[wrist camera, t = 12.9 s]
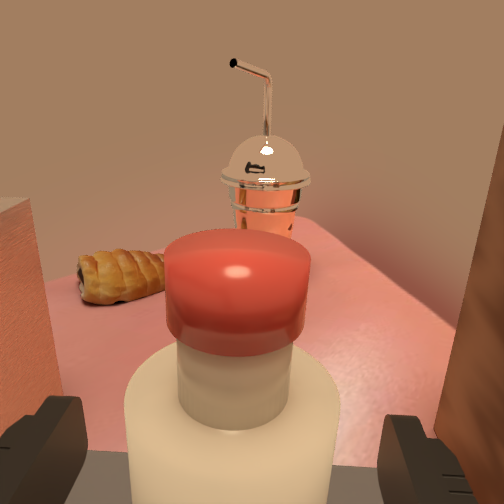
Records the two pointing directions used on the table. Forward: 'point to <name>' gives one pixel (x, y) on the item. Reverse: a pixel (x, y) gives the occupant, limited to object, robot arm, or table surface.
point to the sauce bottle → (232, 381)
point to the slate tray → (120, 498)
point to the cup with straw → (265, 174)
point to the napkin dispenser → (23, 318)
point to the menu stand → (480, 359)
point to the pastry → (120, 276)
